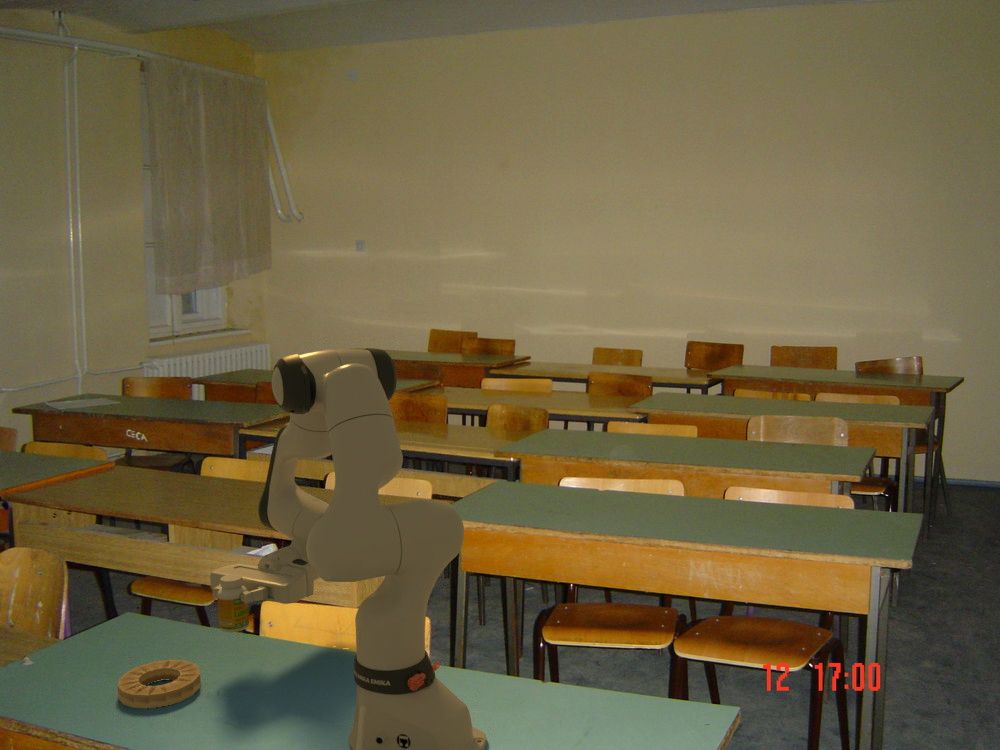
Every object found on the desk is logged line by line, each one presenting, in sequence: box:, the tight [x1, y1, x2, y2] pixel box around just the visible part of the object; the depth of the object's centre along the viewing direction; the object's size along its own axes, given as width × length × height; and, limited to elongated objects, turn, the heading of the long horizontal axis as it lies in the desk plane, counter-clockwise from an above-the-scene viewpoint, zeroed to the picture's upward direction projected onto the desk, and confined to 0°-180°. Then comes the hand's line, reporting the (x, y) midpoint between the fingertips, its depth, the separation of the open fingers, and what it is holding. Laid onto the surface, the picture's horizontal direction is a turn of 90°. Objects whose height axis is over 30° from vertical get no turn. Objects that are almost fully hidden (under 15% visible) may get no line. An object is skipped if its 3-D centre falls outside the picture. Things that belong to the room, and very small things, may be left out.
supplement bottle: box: [216, 574, 250, 633], centre depth 174 cm, size 5×5×10 cm
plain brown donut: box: [117, 659, 201, 710], centre depth 170 cm, size 14×14×2 cm
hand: (228, 596), depth 173 cm, fingers closed on supplement bottle, 5 cm apart
